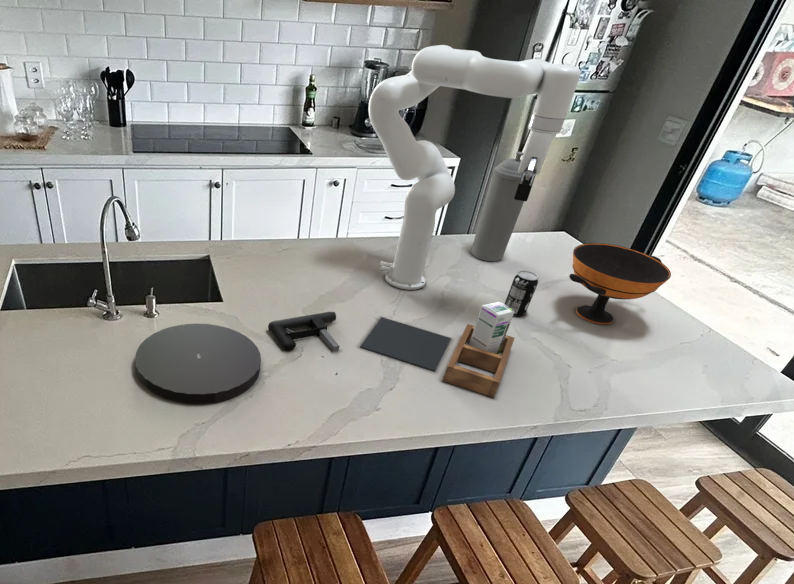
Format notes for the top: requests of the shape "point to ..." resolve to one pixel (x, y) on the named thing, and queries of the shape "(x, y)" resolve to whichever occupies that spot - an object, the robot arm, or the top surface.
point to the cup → (614, 276)
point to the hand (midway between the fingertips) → (522, 194)
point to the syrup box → (491, 327)
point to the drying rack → (477, 365)
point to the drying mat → (406, 343)
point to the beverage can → (521, 292)
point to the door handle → (316, 329)
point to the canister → (499, 212)
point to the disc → (197, 363)
